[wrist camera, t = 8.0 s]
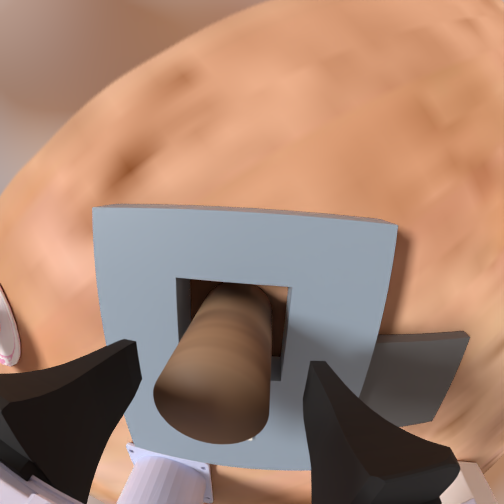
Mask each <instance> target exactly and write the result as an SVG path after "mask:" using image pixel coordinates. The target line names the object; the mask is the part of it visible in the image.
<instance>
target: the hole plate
mask: <svg viewBox="0 0 504 504" xmlns="http://www.w3.org/2000/svg"><path fill="white" fill-rule="evenodd" d="M92 213H93V242H94V257H95V269H96V279H97V288H98V297H99V304H100V311H101V317H102V323H103V329H104V335H105V340H106V345H107V346H108V345H110V344H112V343H114V342H117V341H119V340H122V339H127V340H132V341H136V343H137V350H138V357H139V363H140V369H141V375H142V381H141V383H140V385H139V388H138V390H137V392H136V395H135V397H134V398H133V400H132V402H131V403H130V405H129V407H128V408H127V410H126V411H125V413H124V416H125V419H126V422H127V425H128V428H129V431H130V434H131V437H132V440H133V443H134V445H135V447H138V448H141V449H145V450H148V451H152V452H156V453H160V454H164V455H168V456H172V457H177V458H181V459H186V460H191V461H197V462H203V463H209V464H215V465H222V466H230V467H239V468H250V469H265V470H311V463H310V456H309V450H308V444H307V438H306V432H305V426H304V420H303V395H304V390H305V385H306V380H307V375H308V370H309V365H310V361H326V362H327V364H328V365H329V366H330V367H331V368H332V370H333V371H334V372H335V373H336V374H337V375H338V377H339V378H340V379H341V380H342V381H343V382H344V384H345V385H346V386H347V387H348V388H349V389H350V390H351V391H352V392H353V393H354V394H355V395H356V396H357V397H358V398H359V395H360V393H361V390H362V387H363V384H364V381H365V377H366V374H367V371H368V368H369V364H370V361H371V358H372V354H373V351H374V347H375V343H376V340H377V336H378V332H379V328H380V324H381V320H382V315H383V311H384V307H385V302H386V297H387V292H388V287H389V282H390V277H391V271H392V265H393V259H394V252H395V245H396V238H397V230H398V225H396V224H393V223H390V222H387V221H384V220H381V219H374V218H365V217H355V216H345V215H335V214H324V213H312V212H300V211H287V210H272V209H257V208H240V207H220V206H196V205H162V204H112V205H105V206H99V207H92ZM190 279H197V280H208V281H220V282H232V283H244V284H257V285H271V286H286V287H288V295H287V304H286V314H285V323H284V332H283V340H282V348H281V356H280V357H275V356H271V382H270V408H269V418H268V421H267V424H266V426H265V427H264V429H263V430H262V431H261V432H260V433H259V434H257V435H256V436H254V437H253V438H251V439H249V440H246V441H243V442H240V443H235V444H211V443H205V442H201V441H198V440H195V439H192V438H190V437H188V436H186V435H184V434H182V433H180V432H179V431H177V430H176V429H174V428H173V427H172V426H170V425H169V424H168V423H167V422H166V421H165V420H164V418H163V417H162V416H161V415H160V413H159V412H158V410H157V408H156V406H155V402H154V398H153V389H154V385H155V383H156V381H157V379H158V377H159V376H160V374H161V372H162V371H163V369H164V367H165V365H166V364H167V362H168V360H169V359H170V357H171V355H172V354H173V352H174V350H175V349H176V347H177V345H178V343H179V342H180V340H181V338H182V337H183V335H184V333H185V332H186V330H187V328H188V327H189V325H190V323H191V297H190Z"/></svg>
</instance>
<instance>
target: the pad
mask: <svg viewBox="0 0 504 504" xmlns="http://www.w3.org/2000/svg"><path fill="white" fill-rule="evenodd" d="M469 339H470V337H469V336H468V335H467V334H466V333H465V332H464V331H457V332H443V333H425V334H399V335H378V336H377V340H376V343H375V347H374V351H373V354H372V358H371V361H370V364H369V368H368V371H367V374H366V377H365V381H364V384H363V387H362V390H361V393H360V395H359V399H360V400H361V401H363V402H364V403H365V404H366V405H367V406H368V407H369V408H371V409H372V410H373V411H375V412H376V413H377V414H379V415H380V416H381V417H383V418H384V419H386V420H387V421H389V422H390V423H392V424H394V425H396V426H397V427H402V426H408V425H414V424H419V423H425V422H429V421H432V420H433V418H434V417H435V415H436V413H437V411H438V409H439V407H440V405H441V403H442V401H443V400H444V398H445V396H446V393H447V391H448V389H449V387H450V385H451V383H452V381H453V379H454V376H455V374H456V372H457V369H458V367H459V365H460V362H461V360H462V357H463V355H464V352H465V350H466V347H467V344H468V342H469Z"/></svg>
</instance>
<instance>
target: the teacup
mask: <svg viewBox="0 0 504 504" xmlns="http://www.w3.org/2000/svg"><path fill="white" fill-rule="evenodd" d="M0 329H1V330H0V362H1V363H2V364H3V365H7V366H13V365H15V364H17V363H18V361H19V358H20V355H21V349H20V338H19V334H18V330H17V325H16V322H15V320H14V317H13V314H12V311H11V308H10V305H9V303H8V301H7V299H6V297H5V295H4V293H3V290H2V288H1V286H0Z"/></svg>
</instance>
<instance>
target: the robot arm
mask: <svg viewBox="0 0 504 504" xmlns="http://www.w3.org/2000/svg"><path fill="white" fill-rule="evenodd" d="M141 381H142V375H141V369H140V363H139V357H138V350H137V343H136V341H132V340H127V339H122V340H119V341H117V342H114V343H112V344H110V345H108V346H105V347H103V348H101V349H99V350H97V351H94V352H92V353H90V354H88V355H85V356H83V357H80V358H78V359H75V360H73V361H70V362H68V363H65V364H62V365H59V366H55V367H51V368H47V369H43V370H37V371H32V372H25V373H13V374H0V504H87V500H88V496H89V492H90V488H91V484H92V481H93V478H94V475H95V472H96V469H97V466H98V463H99V461H100V458H101V456H102V453H103V451H104V448H105V446H106V444H107V442H108V439H109V437H110V436H111V434H112V432H113V430H114V429H115V427H116V425H117V424H118V422H119V421H120V419H121V418H122V416H123V414H124V413H125V411H126V410H127V408H128V407H129V405H130V403H131V402H132V400H133V398H134V397H135V395H136V392H137V390H138V388H139V385H140V383H141ZM303 420H304V426H305V432H306V438H307V444H308V450H309V456H310V463H311V483H312V504H442V502H441V499H440V496H441V494H442V493H443V492H444V491H445V490H446V489H447V488H448V487H449V486H450V485H451V484H452V483H453V482H454V480H455V479H456V478H457V476H458V474H459V472H460V465H459V463H458V461H457V459H456V457H455V455H454V454H453V452H452V450H451V449H450V447H447V446H443V445H440V444H437V443H433V442H430V441H427V440H425V439H422V438H420V437H417V436H415V435H413V434H411V433H409V432H407V431H405V430H403V429H401V428H399V427H397V426H396V425H394V424H392V423H390V422H389V421H387V420H386V419H384V418H383V417H381V416H380V415H379V414H377V413H376V412H375V411H373V410H372V409H371V408H369V407H368V406H367V405H366V404H365V403H364V402H363V401H361V400H360V399H359V398H358V397H357V396H356V395H355V394H354V393H353V392H352V391H351V390H350V389H349V388H348V387H347V386H346V385H345V384H344V382H343V381H342V380H341V379H340V378H339V377H338V375H337V374H336V373H335V372H334V371H333V370H332V368H331V367H330V366H329V365H328V364H327V362H326V361H310V365H309V370H308V375H307V380H306V385H305V390H304V395H303ZM126 448H127V450H128V453H129V455H130V457H131V460H132V462H133V464H134V467H133V469H132V472H131V474H130V476H129V478H128V480H127V482H126V484H125V486H124V488H123V490H122V492H121V495H120V497H119V499H118V501H117V503H116V504H203V503H204V502H205V503H213V492H212V482H211V473H210V464H209V463H203V462H197V461H191V460H186V459H181V458H177V457H172V456H168V455H164V454H160V453H156V452H152V451H148V450H145V449H141V448H138V447H135V445H134V444H133V443H127V444H126ZM461 504H477V503H476V501H475V499H474V498H472V499H470V500H468V501H465V502H463V503H461Z"/></svg>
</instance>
